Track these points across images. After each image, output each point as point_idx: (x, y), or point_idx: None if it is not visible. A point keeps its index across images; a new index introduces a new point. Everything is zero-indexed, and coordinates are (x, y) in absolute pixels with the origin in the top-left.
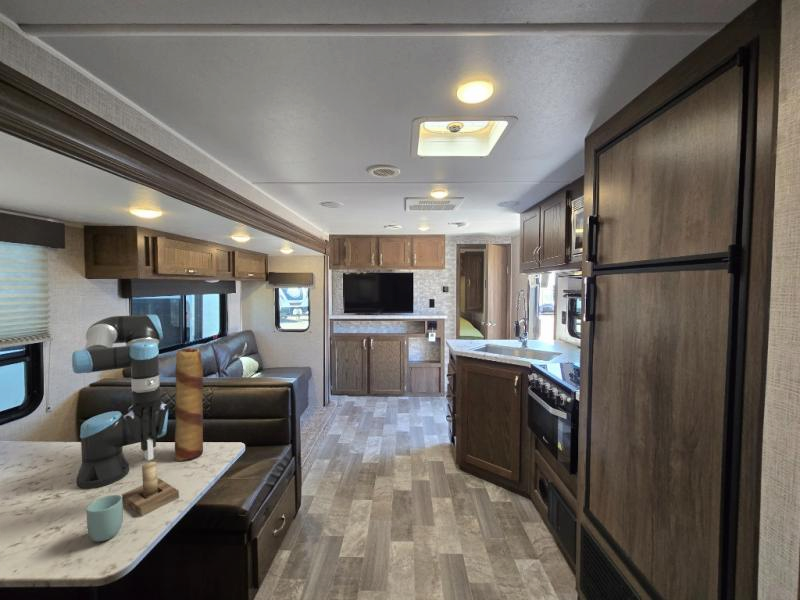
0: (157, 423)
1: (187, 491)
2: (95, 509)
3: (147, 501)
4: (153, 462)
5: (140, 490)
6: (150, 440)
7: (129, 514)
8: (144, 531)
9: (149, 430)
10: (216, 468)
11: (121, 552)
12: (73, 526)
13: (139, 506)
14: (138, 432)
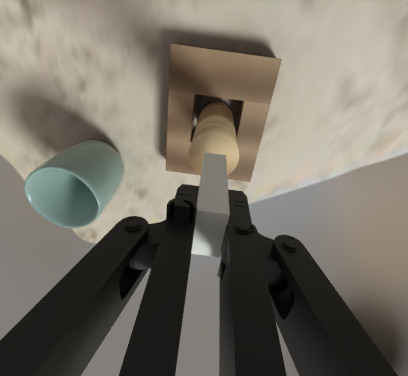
0: (309, 327)
1: (274, 168)
2: (54, 170)
3: (187, 156)
4: (234, 149)
5: (208, 81)
6: (207, 253)
7: (158, 129)
8: (150, 207)
9: (227, 274)
10: (397, 141)
11: (108, 220)
12: (58, 44)
13: (167, 158)
14: (111, 324)
